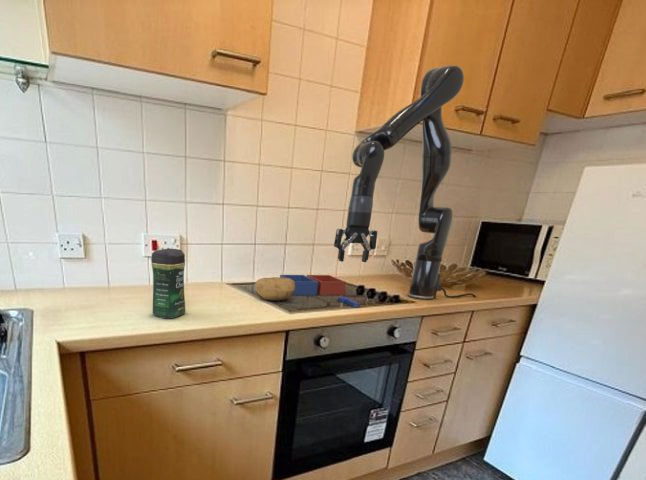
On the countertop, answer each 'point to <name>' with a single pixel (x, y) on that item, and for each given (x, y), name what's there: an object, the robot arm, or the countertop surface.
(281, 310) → the countertop surface
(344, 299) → the blue spoon
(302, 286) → the blue bin
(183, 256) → the coffee jar
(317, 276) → the red bin
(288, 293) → the potato
